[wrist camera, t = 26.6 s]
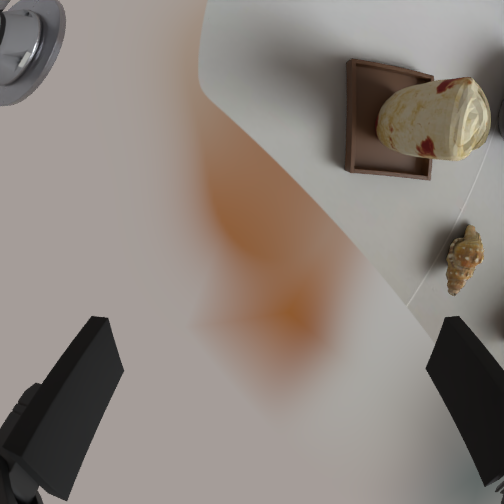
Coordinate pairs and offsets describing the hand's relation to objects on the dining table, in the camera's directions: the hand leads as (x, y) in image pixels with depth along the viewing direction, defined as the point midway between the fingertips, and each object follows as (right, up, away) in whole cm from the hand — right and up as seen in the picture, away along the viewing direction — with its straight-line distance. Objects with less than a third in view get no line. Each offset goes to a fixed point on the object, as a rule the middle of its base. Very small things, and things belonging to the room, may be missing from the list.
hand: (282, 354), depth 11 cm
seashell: (+36, +3, +35) cm, 50 cm away
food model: (+19, +23, +27) cm, 40 cm away
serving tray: (+19, +23, +28) cm, 41 cm away
